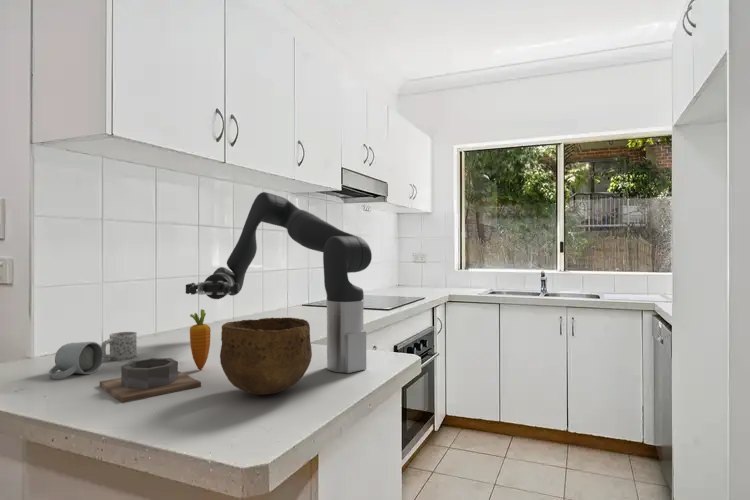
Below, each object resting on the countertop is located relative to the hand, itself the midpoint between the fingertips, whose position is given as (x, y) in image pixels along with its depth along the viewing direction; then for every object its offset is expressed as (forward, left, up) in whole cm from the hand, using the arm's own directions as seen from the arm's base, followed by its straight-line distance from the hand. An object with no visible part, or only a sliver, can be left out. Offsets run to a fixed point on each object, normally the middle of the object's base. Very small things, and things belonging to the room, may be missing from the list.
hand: (208, 290), depth 132 cm
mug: (+19, +17, -19) cm, 32 cm away
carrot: (-9, +6, -19) cm, 22 cm away
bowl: (-37, +4, -19) cm, 42 cm away
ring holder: (-15, +20, -19) cm, 32 cm away
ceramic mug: (+9, +30, -19) cm, 37 cm away
